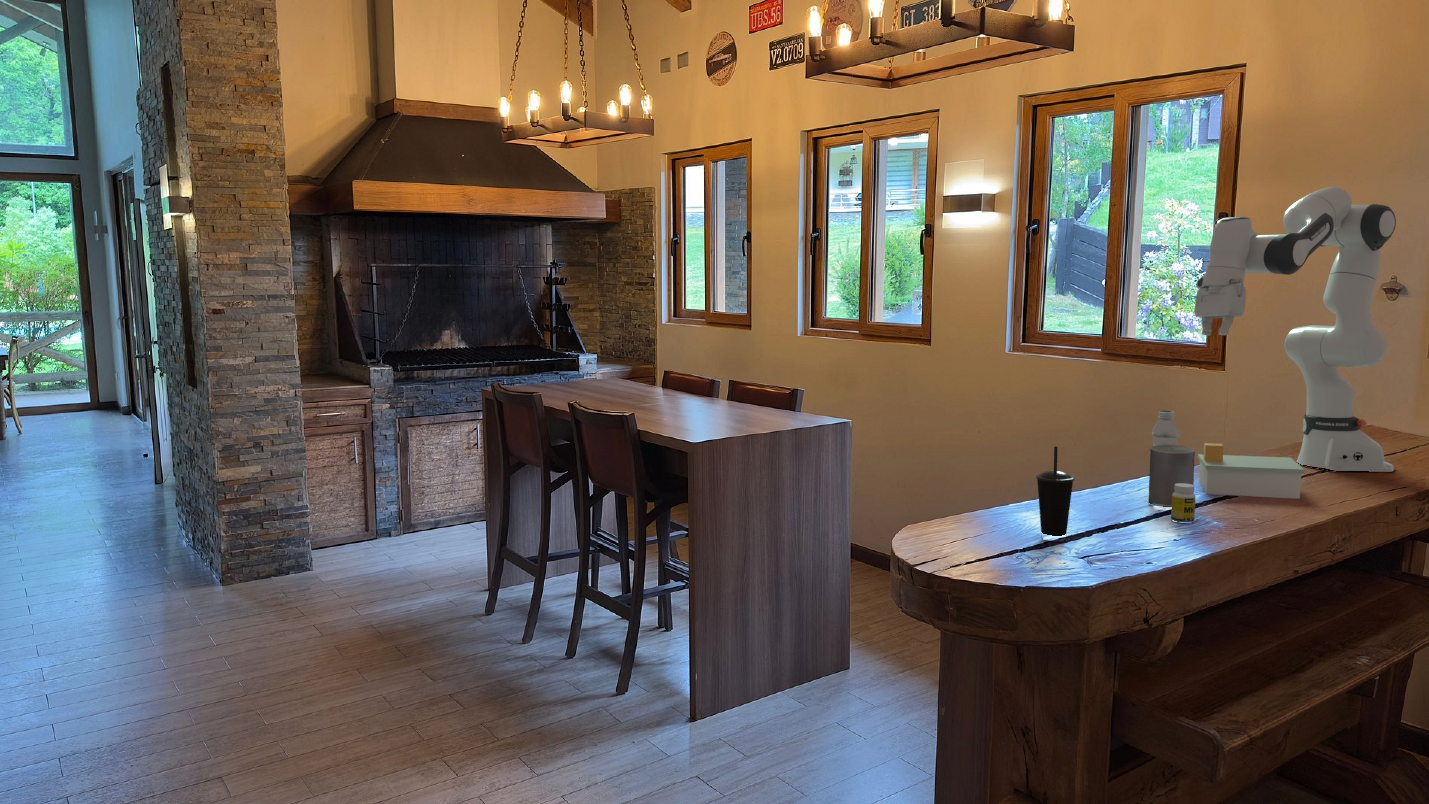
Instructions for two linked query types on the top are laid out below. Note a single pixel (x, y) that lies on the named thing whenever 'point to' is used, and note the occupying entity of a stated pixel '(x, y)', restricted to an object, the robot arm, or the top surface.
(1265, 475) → the tub
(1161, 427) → the plastic bottle
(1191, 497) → the supplement bottle
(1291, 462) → the lid
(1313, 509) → the top surface
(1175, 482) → the pillar candle
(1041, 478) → the drinking cup
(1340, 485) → the top surface
